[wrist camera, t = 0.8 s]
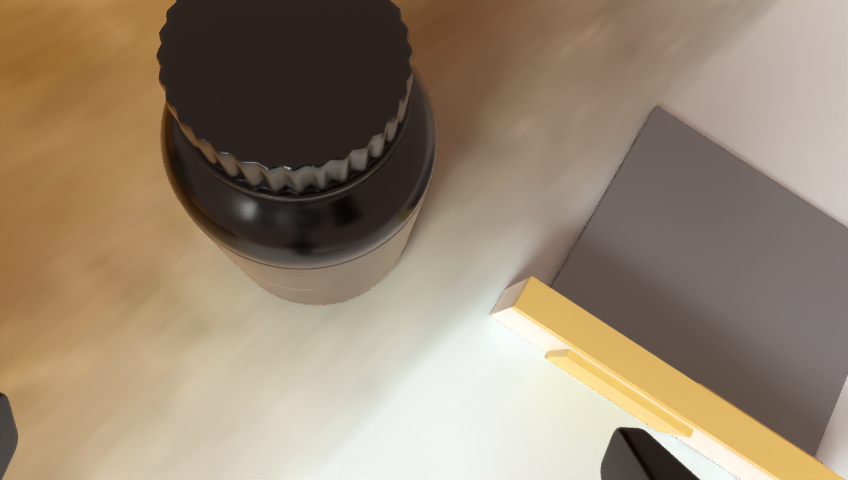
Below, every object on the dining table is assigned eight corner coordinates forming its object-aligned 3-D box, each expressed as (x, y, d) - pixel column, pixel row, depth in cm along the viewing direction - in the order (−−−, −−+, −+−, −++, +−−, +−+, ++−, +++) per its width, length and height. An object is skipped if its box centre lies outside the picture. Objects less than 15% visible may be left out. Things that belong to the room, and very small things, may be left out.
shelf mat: (801, 471, 23) (807, 472, 22) (542, 302, 23) (544, 301, 23) (888, 259, 25) (895, 258, 25) (653, 108, 25) (656, 105, 25)
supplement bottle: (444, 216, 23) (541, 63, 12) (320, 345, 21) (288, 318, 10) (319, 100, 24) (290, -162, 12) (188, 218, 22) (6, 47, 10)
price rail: (794, 523, 22) (874, 551, 19) (485, 322, 22) (509, 313, 19) (811, 480, 23) (893, 500, 19) (508, 283, 23) (536, 268, 19)
